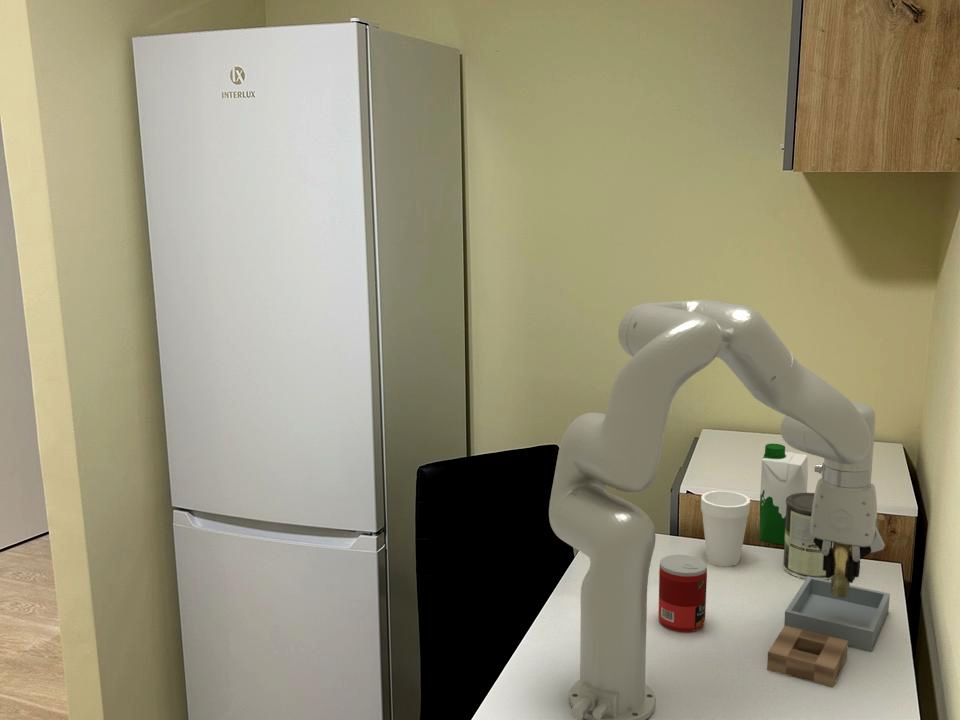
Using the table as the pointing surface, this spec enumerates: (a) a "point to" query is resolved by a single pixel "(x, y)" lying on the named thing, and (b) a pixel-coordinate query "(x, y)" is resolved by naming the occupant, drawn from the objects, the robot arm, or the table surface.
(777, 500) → the milk carton
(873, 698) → the table surface
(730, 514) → the foam cup
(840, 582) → the pin
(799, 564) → the coffee can
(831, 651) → the pin bracket
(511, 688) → the table surface
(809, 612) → the pin tray
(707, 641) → the table surface
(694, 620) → the canned food
